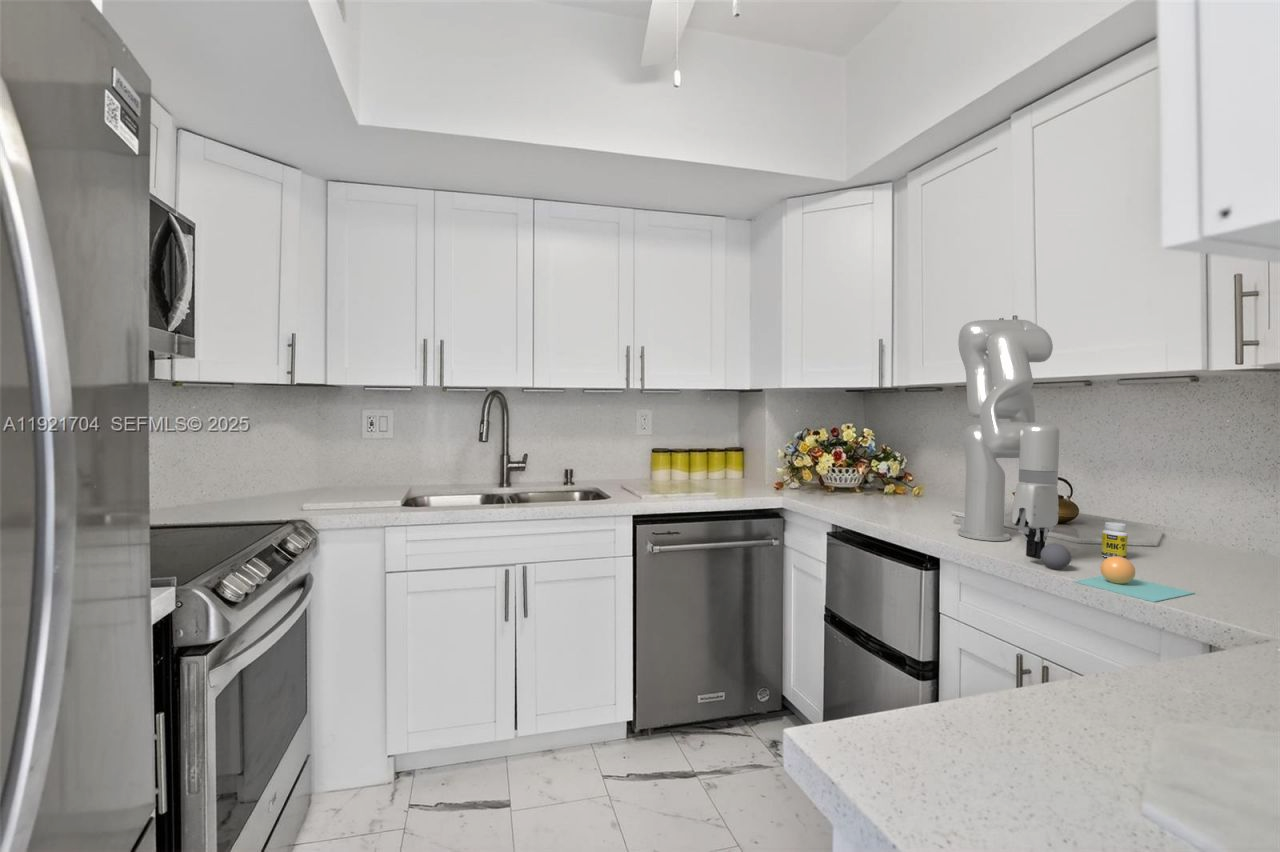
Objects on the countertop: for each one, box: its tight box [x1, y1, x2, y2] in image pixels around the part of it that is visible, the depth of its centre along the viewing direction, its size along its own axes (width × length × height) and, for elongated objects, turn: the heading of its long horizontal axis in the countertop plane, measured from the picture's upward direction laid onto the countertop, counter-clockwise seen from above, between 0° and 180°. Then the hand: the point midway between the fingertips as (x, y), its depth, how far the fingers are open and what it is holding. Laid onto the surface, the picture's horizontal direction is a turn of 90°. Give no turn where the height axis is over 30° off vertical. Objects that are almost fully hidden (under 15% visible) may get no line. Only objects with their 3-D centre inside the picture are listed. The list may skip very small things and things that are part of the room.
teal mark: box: [1073, 575, 1196, 603], centre depth 120 cm, size 14×14×1 cm
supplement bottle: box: [1100, 521, 1129, 559], centre depth 145 cm, size 5×5×8 cm
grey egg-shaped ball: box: [1040, 543, 1072, 570], centre depth 134 cm, size 6×6×6 cm
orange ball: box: [1100, 556, 1136, 584], centre depth 123 cm, size 6×6×6 cm
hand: (1035, 557), depth 138 cm, fingers closed
